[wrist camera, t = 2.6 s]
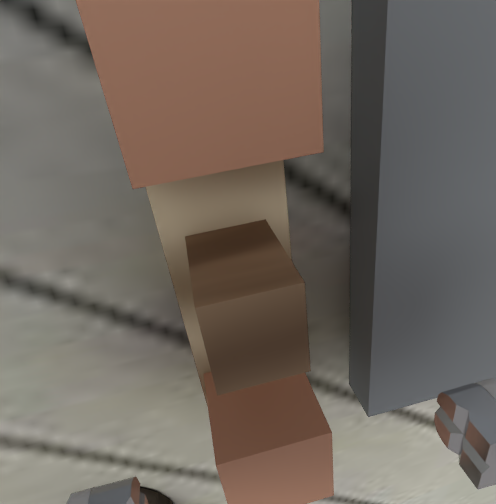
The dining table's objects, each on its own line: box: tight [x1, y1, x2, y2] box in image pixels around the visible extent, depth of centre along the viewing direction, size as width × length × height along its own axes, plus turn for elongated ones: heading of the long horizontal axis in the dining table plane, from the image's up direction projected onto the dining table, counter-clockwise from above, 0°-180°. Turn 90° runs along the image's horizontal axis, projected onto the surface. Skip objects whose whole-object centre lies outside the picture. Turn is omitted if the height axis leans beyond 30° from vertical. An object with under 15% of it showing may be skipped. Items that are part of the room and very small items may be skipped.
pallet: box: [146, 160, 311, 406], centre depth 16 cm, size 24×6×9 cm, turn 8°
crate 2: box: [204, 372, 334, 504], centre depth 19 cm, size 5×5×5 cm
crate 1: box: [76, 0, 324, 189], centre depth 11 cm, size 5×5×5 cm
